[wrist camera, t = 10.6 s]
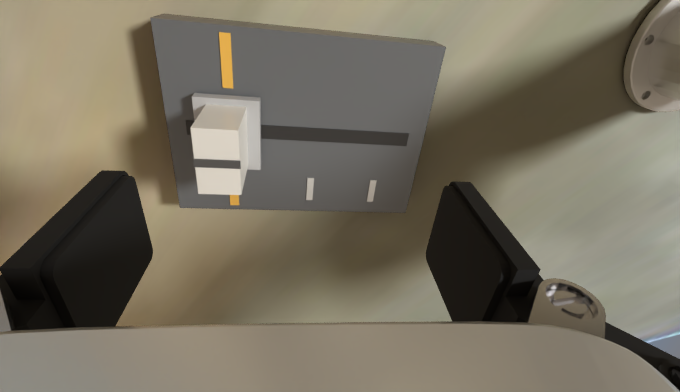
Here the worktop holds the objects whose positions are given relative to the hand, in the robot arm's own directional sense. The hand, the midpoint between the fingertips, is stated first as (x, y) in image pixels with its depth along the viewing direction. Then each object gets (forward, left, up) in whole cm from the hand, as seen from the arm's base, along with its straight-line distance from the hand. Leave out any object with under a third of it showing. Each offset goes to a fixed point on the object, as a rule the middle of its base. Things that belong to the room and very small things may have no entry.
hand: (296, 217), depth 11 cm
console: (-1, +5, -23) cm, 23 cm away
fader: (+5, +5, -19) cm, 21 cm away
